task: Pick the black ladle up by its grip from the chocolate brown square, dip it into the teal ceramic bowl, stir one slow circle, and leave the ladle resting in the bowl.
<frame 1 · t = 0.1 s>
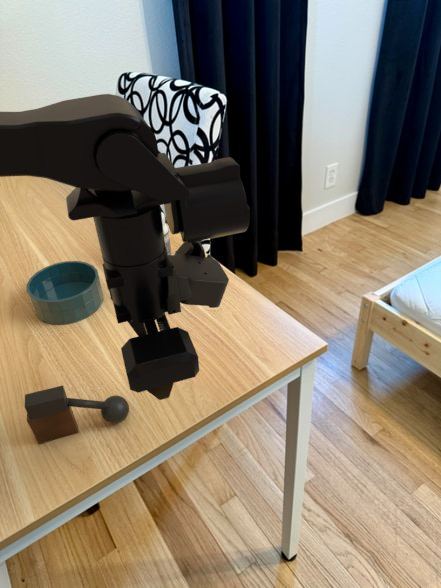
hand: (154, 367, 48), 12 cm above the table, tool pointing down, fingers open, 9 cm apart
bowl: (69, 302, 77), on the table
pill bottle: (158, 260, 88), on the table
chocolate brown square: (58, 434, 56), on the table
ladle: (117, 418, 57), on the table, touching chocolate brown square
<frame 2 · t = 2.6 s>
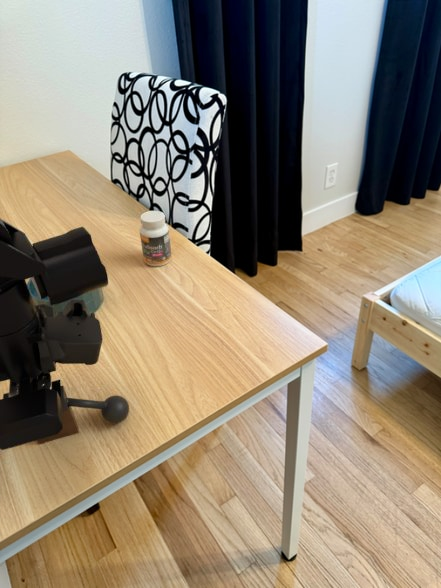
hand: (49, 413, 53), 5 cm above the table, tool pointing down, fingers closed on ladle, 2 cm apart
ladle: (117, 417, 57), on the table, touching gripper, chocolate brown square
everything else where it was.
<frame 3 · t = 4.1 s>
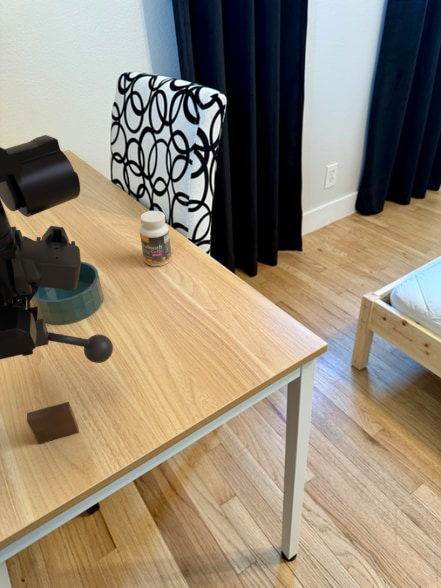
hand: (28, 347, 51), 12 cm above the table, tool pointing down, fingers closed on ladle
ladle: (100, 358, 56), point 8 cm above the table, touching gripper
everything else where it was.
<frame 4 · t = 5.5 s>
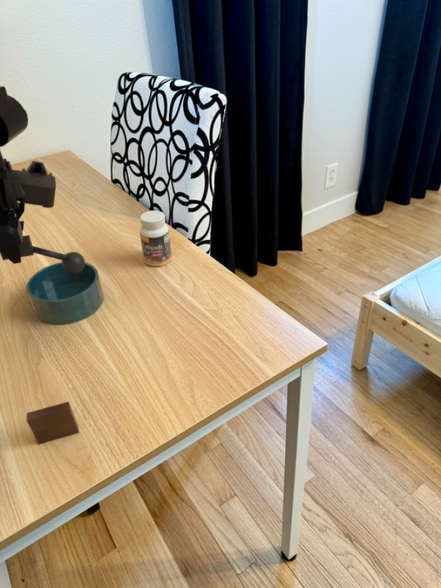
hand: (18, 258, 66), 12 cm above the table, tool pointing down, fingers closed on ladle
ladle: (75, 272, 71), point 8 cm above the table, touching gripper
everything else where it was.
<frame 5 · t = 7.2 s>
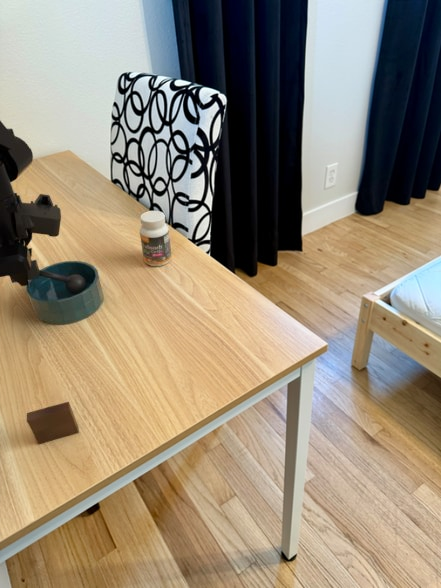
hand: (25, 281, 73), 6 cm above the table, tool pointing down, fingers closed on ladle, 2 cm apart
ladle: (77, 292, 77), point 1 cm above the table, touching gripper
everything else where it was.
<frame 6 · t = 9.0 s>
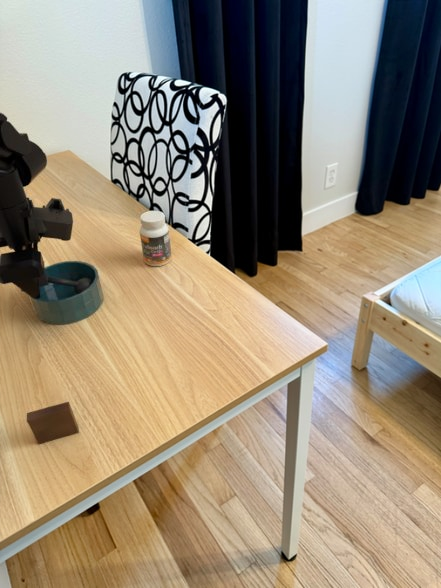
hand: (37, 284, 73), 5 cm above the table, tool pointing down, fingers open, 7 cm apart
ladle: (87, 295, 78), point 1 cm above the table, touching bowl
everything else where it was.
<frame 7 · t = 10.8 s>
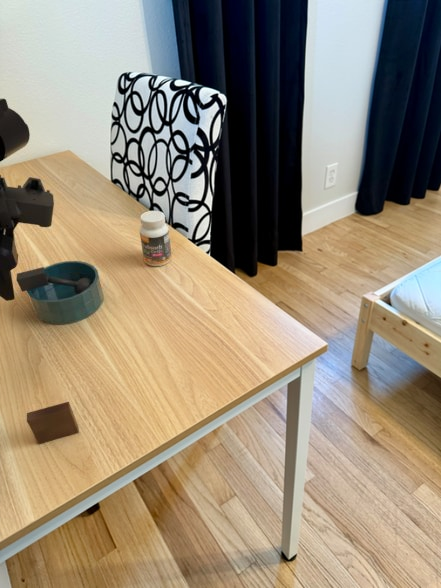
hand: (12, 281, 62), 12 cm above the table, tool pointing down, fingers open, 9 cm apart
nothing on the table moved.
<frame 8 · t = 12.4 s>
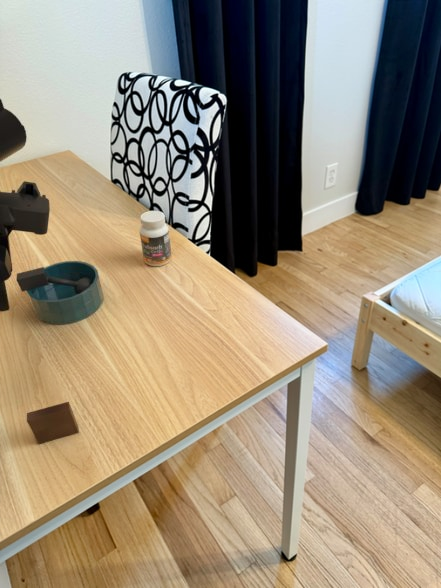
hand: (7, 290, 59), 13 cm above the table, tool pointing down, fingers open, 9 cm apart
nothing on the table moved.
at the end: ladle inside the target area in the bowl (3.3 cm from its centre), point 0.6 cm above the bowl's base; ladle moved 28.0 cm from its start; the gripper is holding nothing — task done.
